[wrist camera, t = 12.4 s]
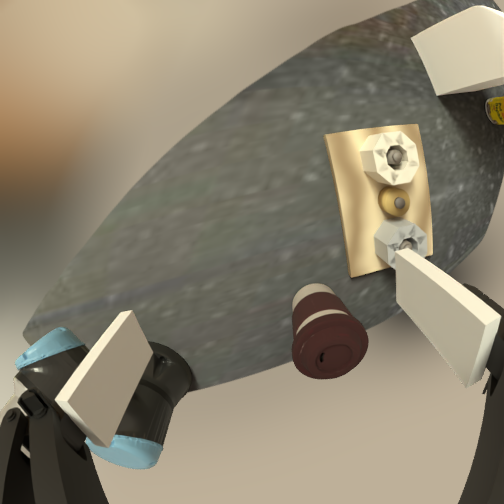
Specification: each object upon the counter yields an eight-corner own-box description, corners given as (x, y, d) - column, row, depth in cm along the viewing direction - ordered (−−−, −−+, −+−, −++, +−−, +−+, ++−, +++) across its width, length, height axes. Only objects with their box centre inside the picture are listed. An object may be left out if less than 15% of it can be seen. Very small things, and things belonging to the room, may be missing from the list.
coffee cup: (353, 292, 44) (387, 345, 29) (318, 335, 46) (337, 395, 32) (307, 263, 42) (330, 312, 28) (272, 311, 45) (277, 372, 31)
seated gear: (376, 265, 40) (389, 277, 36) (371, 223, 38) (385, 231, 34) (412, 255, 40) (427, 265, 35) (409, 214, 38) (426, 220, 33)
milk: (452, 38, 28) (539, 3, 3) (475, 91, 31) (573, 79, 6) (410, 38, 29) (503, -18, 4) (436, 95, 32) (550, 73, 8)
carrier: (348, 274, 43) (362, 292, 36) (323, 135, 36) (335, 130, 30) (428, 251, 41) (448, 264, 35) (412, 124, 34) (435, 120, 28)
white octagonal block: (356, 137, 34) (369, 134, 30) (396, 132, 34) (412, 129, 29) (365, 184, 37) (379, 187, 32) (404, 177, 36) (421, 180, 31)
